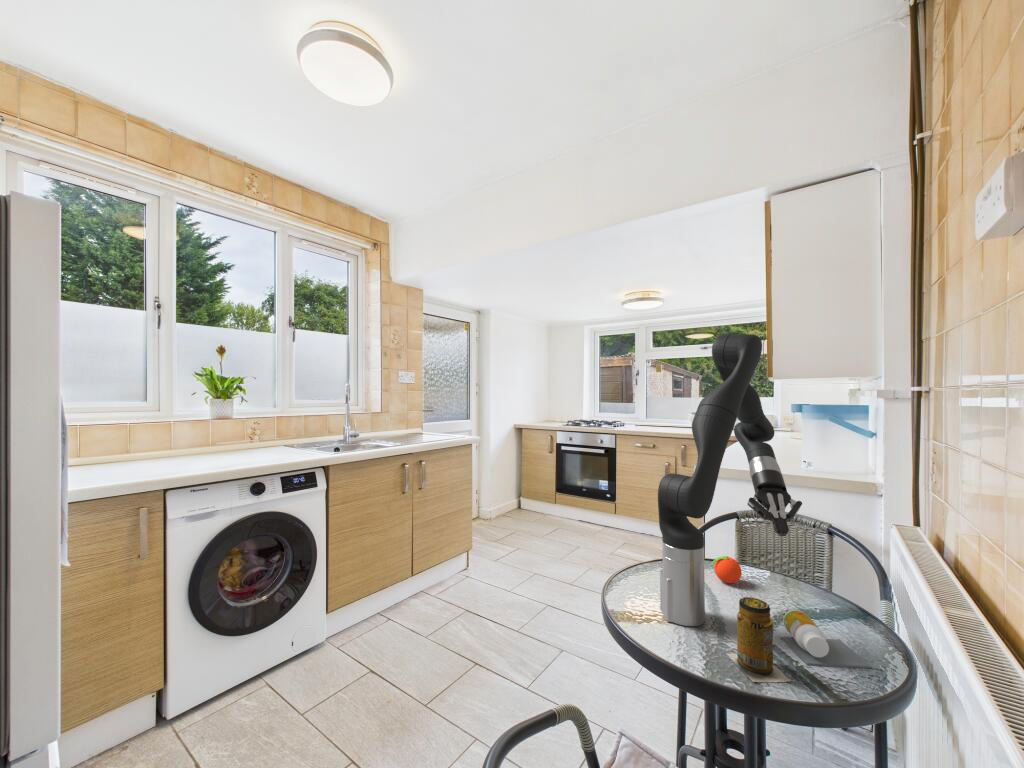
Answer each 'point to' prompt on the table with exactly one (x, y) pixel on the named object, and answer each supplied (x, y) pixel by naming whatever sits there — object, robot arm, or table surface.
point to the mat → (829, 655)
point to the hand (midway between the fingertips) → (783, 534)
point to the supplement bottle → (806, 633)
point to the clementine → (727, 569)
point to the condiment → (756, 642)
